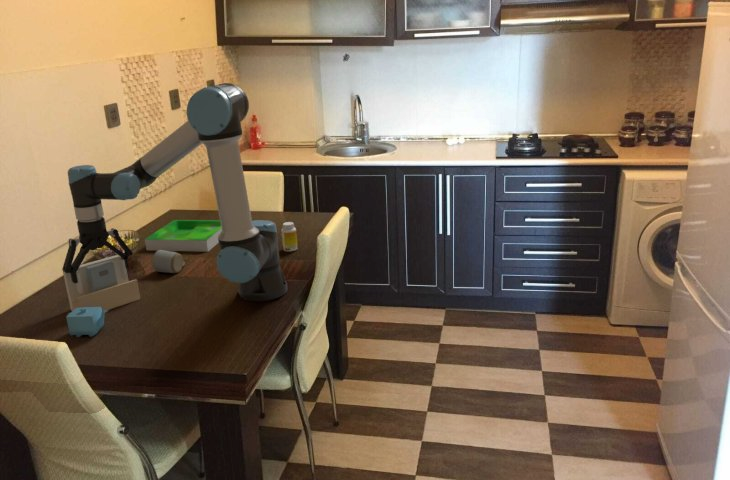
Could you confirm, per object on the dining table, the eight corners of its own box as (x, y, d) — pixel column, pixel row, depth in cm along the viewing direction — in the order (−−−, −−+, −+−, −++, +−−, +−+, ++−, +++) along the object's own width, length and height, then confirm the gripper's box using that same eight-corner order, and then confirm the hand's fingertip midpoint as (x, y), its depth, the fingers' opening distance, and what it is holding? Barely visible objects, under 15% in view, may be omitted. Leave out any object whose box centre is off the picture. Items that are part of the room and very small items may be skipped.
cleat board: (140, 299, 194) (133, 260, 190) (82, 318, 183) (73, 277, 178) (128, 291, 200) (121, 253, 196) (70, 309, 189) (62, 269, 185)
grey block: (120, 294, 191) (114, 263, 188) (97, 301, 186) (91, 270, 183) (114, 290, 194) (108, 260, 191) (91, 297, 189) (85, 267, 186)
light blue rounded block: (116, 326, 177) (112, 302, 174) (108, 337, 171) (103, 312, 168) (75, 328, 177) (69, 304, 174) (65, 338, 171) (59, 313, 169)
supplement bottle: (300, 249, 232) (298, 223, 229) (288, 253, 229) (285, 226, 226) (292, 245, 236) (290, 220, 233) (280, 249, 233) (277, 223, 230)
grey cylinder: (174, 276, 211) (171, 255, 209) (153, 274, 214) (150, 253, 211) (191, 266, 221) (188, 245, 218) (171, 264, 223) (168, 244, 221)
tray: (208, 252, 234) (206, 240, 233) (146, 251, 238) (144, 239, 237) (232, 231, 257) (230, 220, 256) (175, 231, 262) (174, 219, 260)
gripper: (125, 207, 193) (136, 270, 200) (41, 226, 177) (56, 294, 184) (136, 211, 188) (147, 276, 195) (50, 231, 171) (65, 301, 178)
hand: (103, 285), depth 189 cm, fingers open, 13 cm apart
